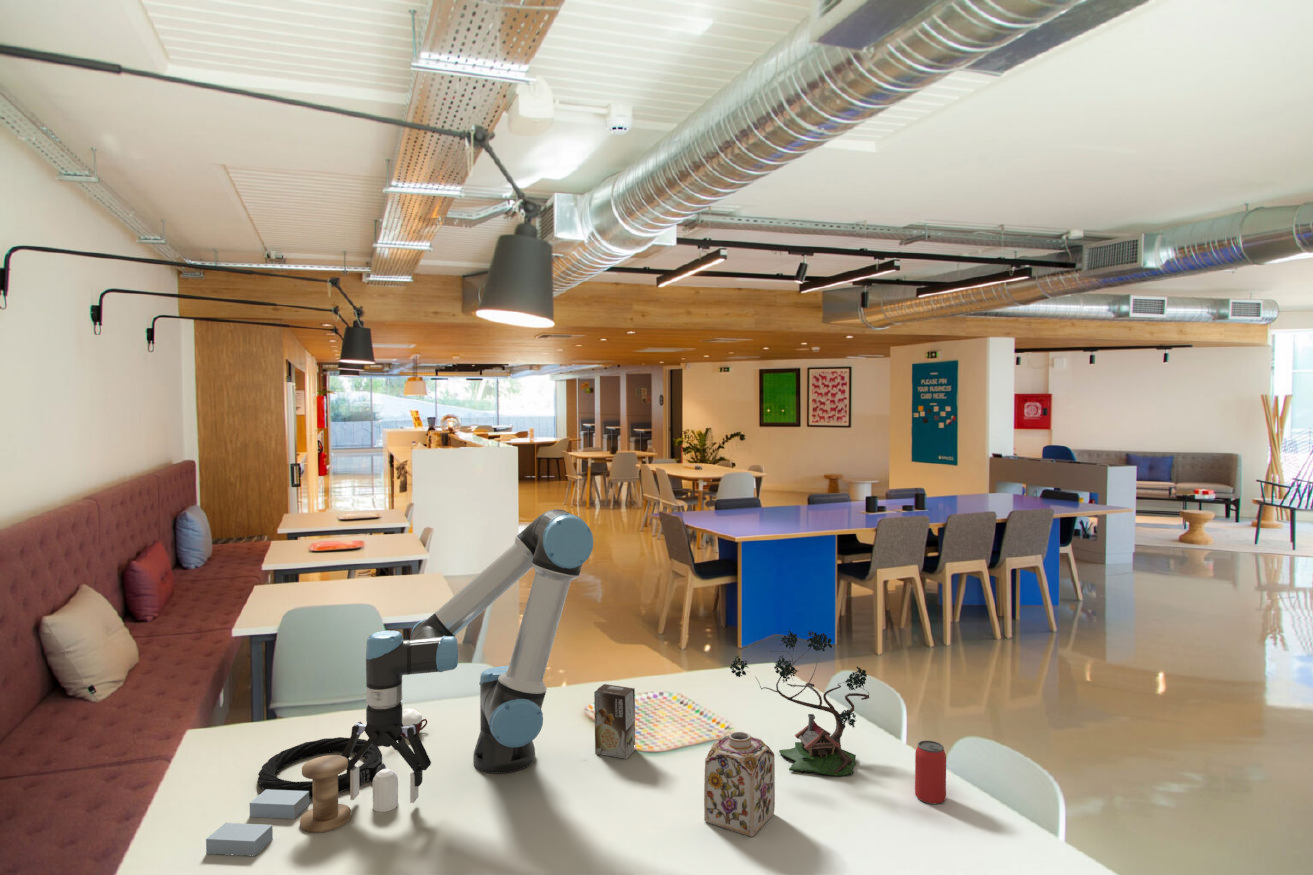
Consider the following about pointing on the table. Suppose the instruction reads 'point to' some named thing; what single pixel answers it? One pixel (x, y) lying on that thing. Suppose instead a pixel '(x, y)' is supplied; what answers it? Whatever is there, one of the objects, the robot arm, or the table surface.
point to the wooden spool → (325, 795)
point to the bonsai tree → (816, 742)
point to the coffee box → (614, 721)
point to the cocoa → (412, 719)
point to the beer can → (930, 772)
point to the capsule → (385, 790)
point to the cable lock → (313, 748)
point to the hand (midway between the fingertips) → (384, 798)
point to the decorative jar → (739, 783)
